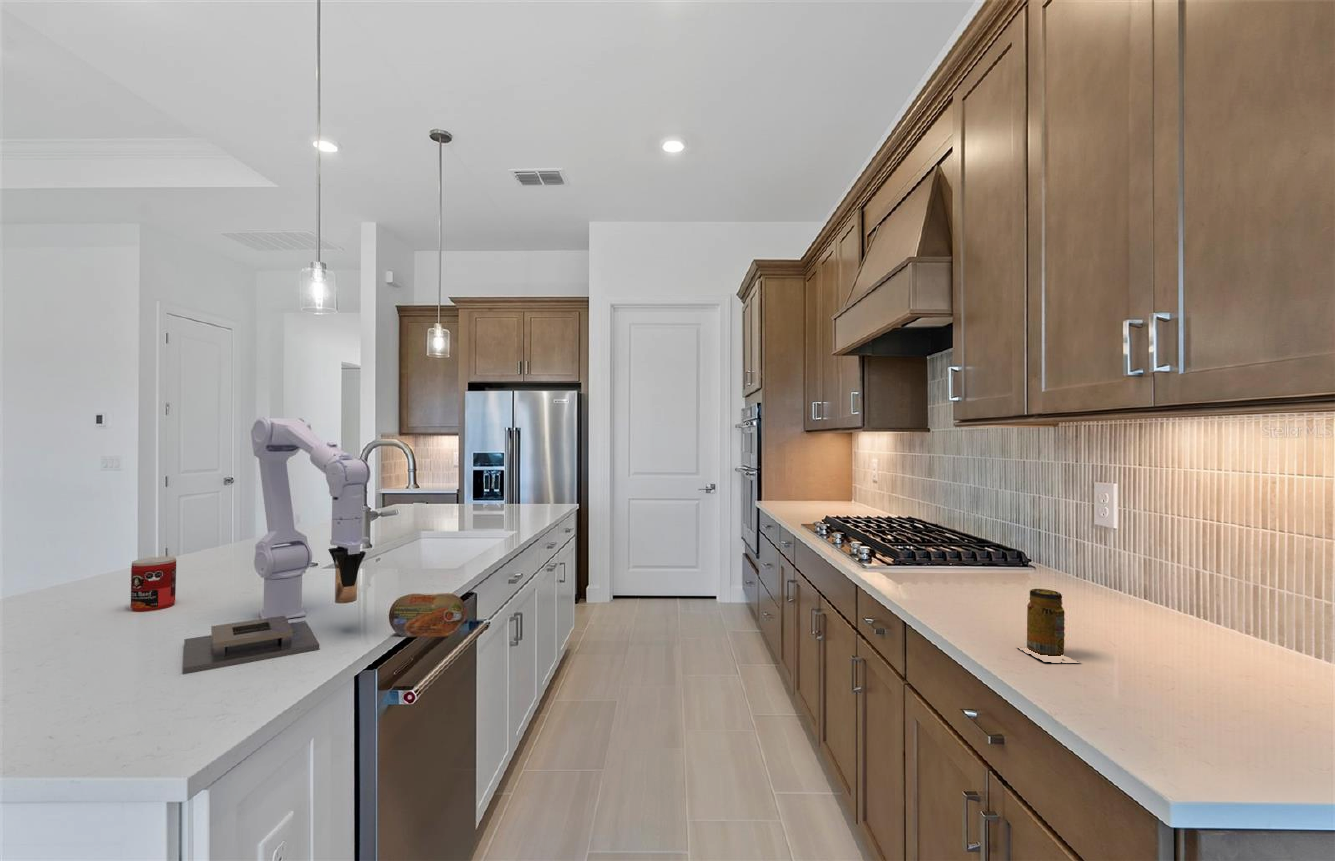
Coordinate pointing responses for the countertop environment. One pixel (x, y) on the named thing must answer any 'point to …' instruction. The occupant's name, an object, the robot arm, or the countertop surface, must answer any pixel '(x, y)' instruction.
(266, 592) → the robot arm
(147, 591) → the canned food
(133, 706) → the countertop surface
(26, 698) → the countertop surface
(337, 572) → the tan rectangular block
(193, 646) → the grey slotted base plate
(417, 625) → the tin
